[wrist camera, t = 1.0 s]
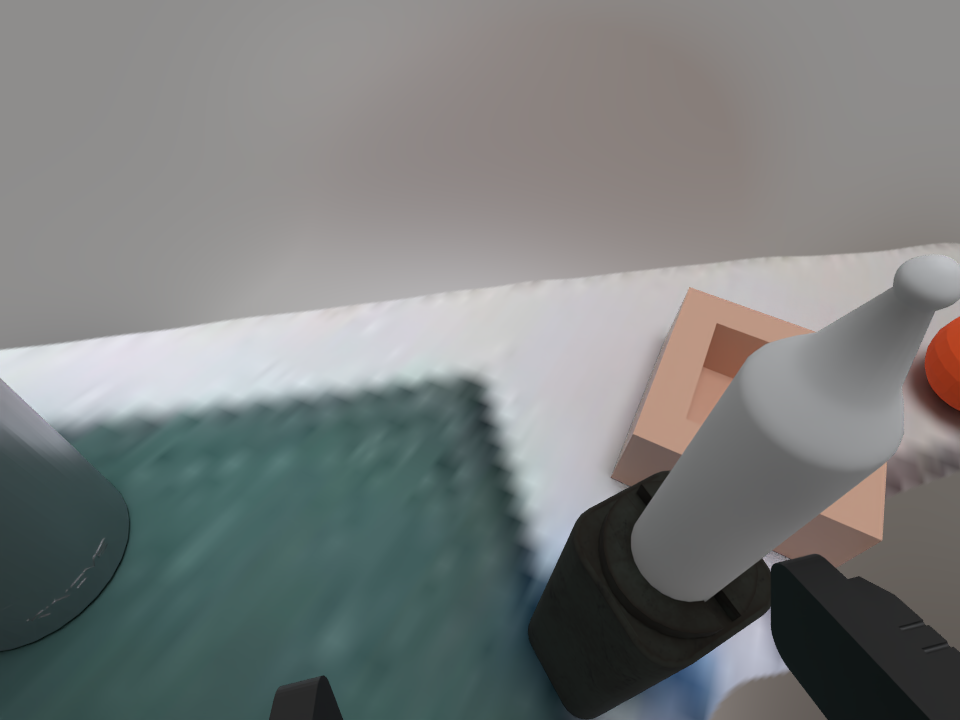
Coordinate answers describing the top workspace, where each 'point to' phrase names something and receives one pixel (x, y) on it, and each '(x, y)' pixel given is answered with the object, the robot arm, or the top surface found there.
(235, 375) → the top surface
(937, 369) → the clementine
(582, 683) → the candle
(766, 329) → the holder block
